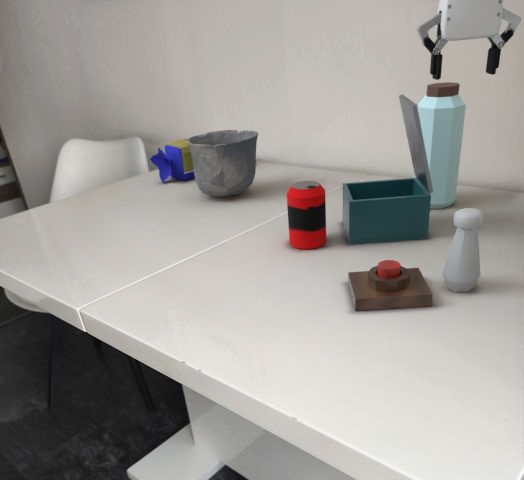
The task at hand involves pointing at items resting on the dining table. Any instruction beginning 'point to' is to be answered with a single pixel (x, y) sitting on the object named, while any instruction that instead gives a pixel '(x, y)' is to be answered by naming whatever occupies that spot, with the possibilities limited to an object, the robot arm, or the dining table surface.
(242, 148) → the cup
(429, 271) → the dining table surface
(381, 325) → the dining table surface
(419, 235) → the tin
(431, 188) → the lid
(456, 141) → the water bottle
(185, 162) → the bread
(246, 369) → the dining table surface
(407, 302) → the button block
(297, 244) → the soda can
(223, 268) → the dining table surface
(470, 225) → the salt shaker
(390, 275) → the button
